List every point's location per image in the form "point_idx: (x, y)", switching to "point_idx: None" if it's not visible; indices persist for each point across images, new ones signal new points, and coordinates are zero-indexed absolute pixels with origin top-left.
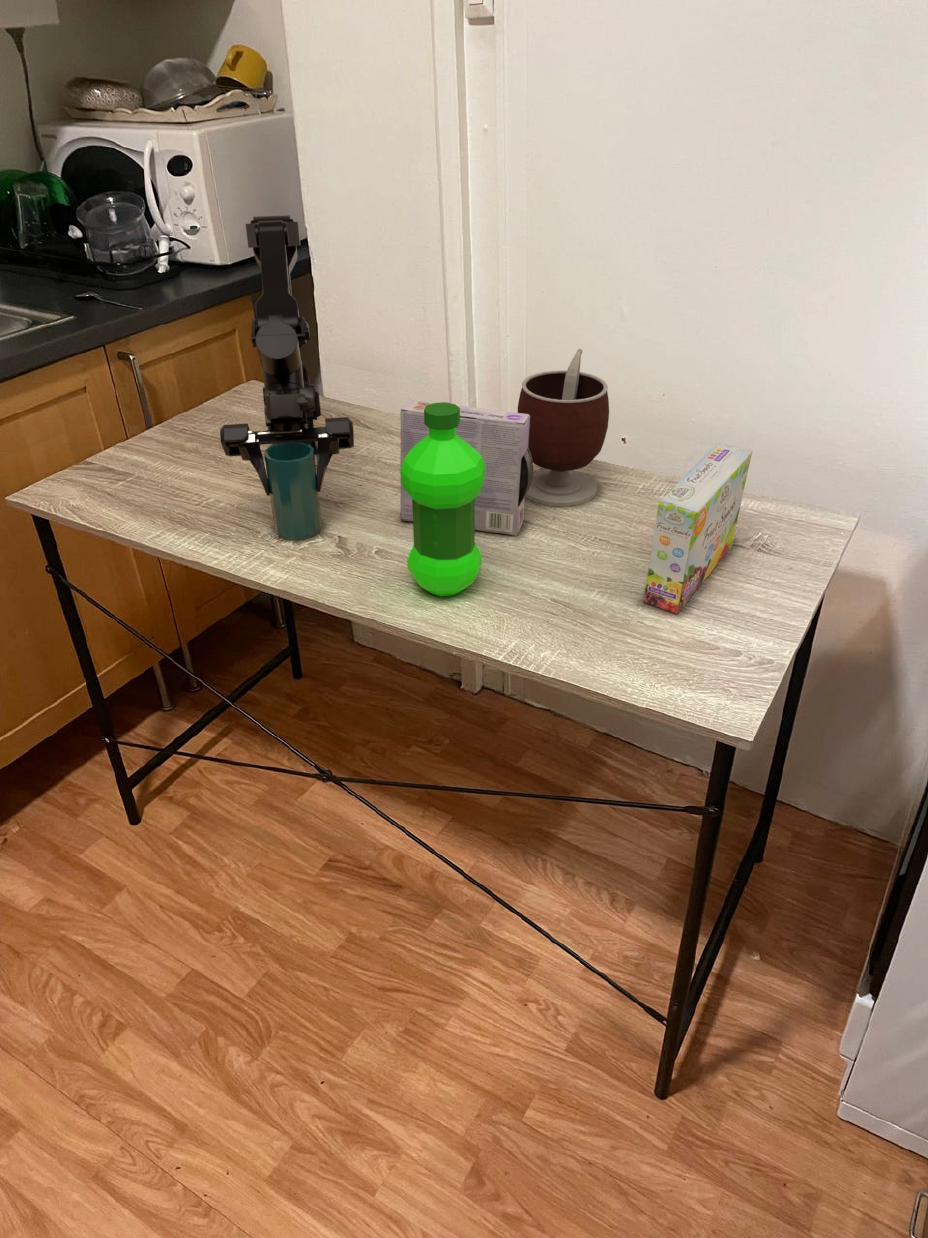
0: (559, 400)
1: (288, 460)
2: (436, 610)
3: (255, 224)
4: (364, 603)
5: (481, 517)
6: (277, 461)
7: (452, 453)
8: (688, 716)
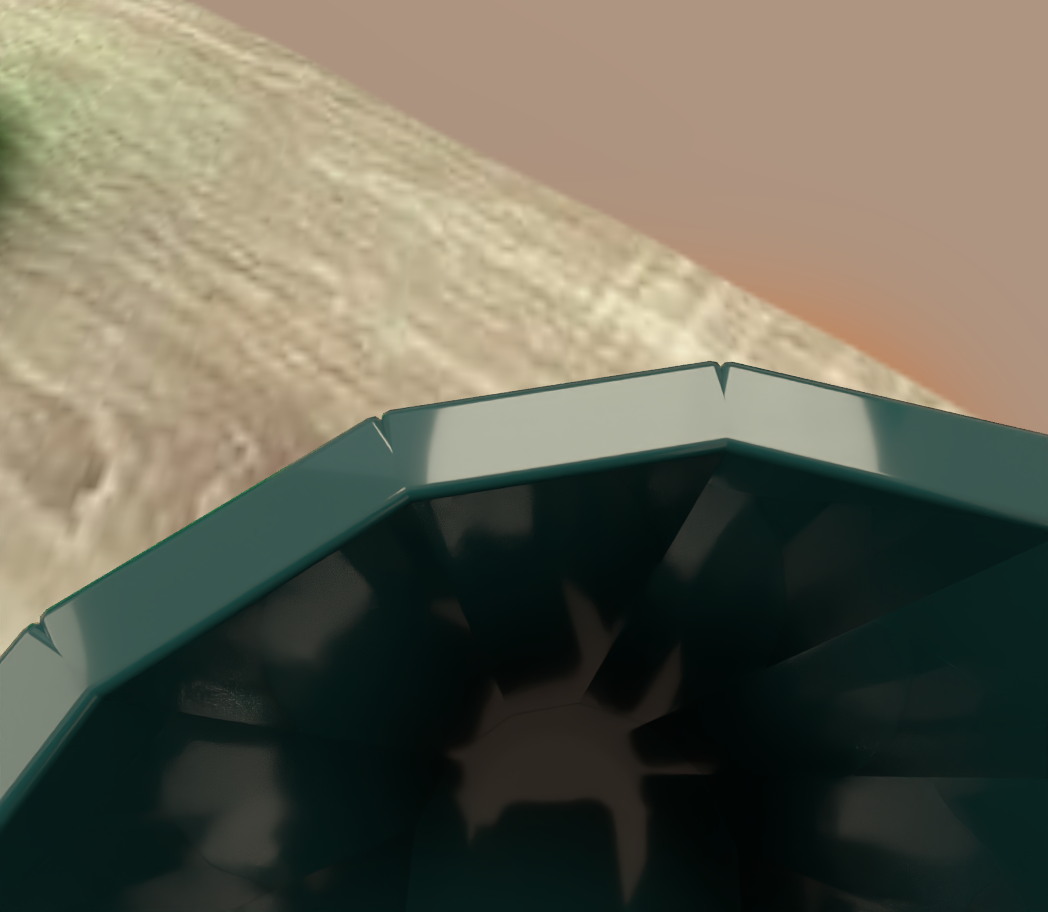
0: None
1: (673, 428)
2: (2, 45)
3: None
4: (262, 99)
5: None
6: (1021, 433)
7: None
8: None
